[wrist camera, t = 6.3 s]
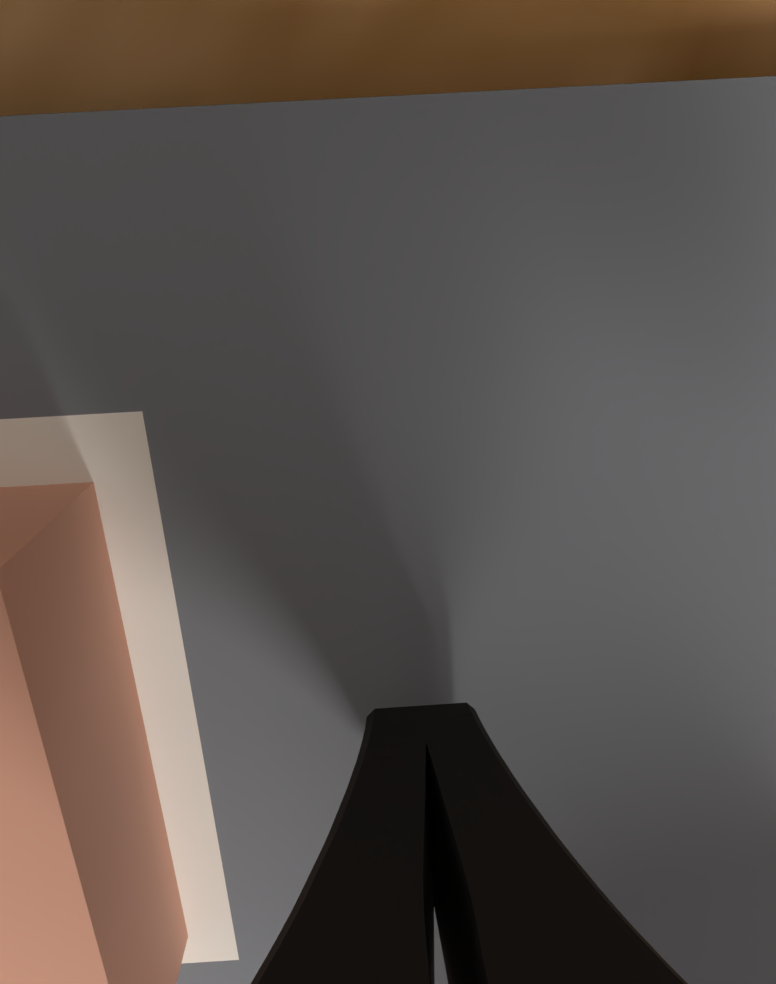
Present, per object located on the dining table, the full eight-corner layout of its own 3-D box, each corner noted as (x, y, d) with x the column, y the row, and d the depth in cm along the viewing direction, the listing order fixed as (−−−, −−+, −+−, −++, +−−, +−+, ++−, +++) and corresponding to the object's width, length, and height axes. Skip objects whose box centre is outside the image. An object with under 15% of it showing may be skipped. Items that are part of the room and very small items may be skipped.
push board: (755, 994, 14) (783, 1048, 13) (-254, 1060, 14) (-299, 1121, 13) (929, 83, 8) (999, 63, 8) (-755, 170, 8) (-898, 161, 7)
